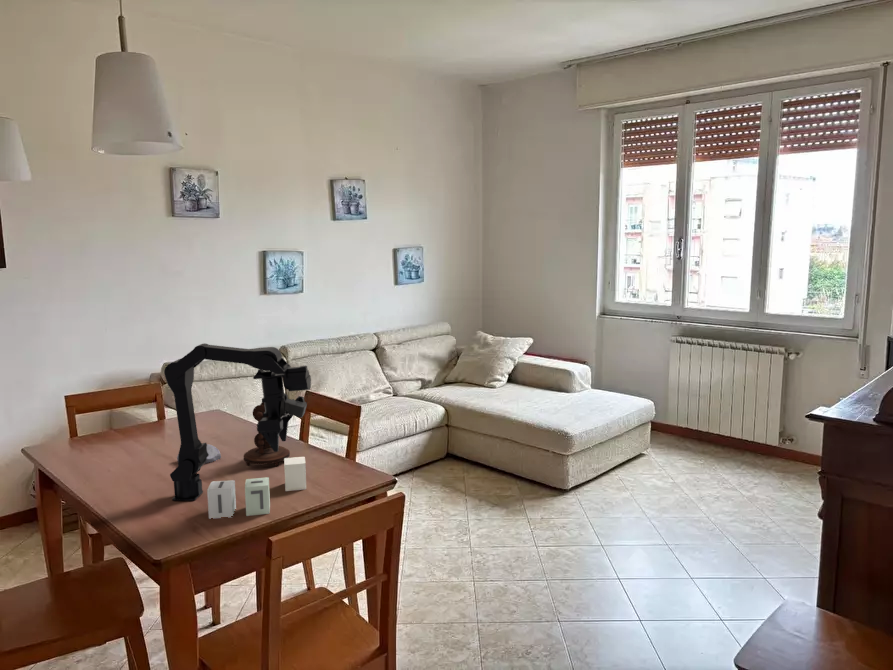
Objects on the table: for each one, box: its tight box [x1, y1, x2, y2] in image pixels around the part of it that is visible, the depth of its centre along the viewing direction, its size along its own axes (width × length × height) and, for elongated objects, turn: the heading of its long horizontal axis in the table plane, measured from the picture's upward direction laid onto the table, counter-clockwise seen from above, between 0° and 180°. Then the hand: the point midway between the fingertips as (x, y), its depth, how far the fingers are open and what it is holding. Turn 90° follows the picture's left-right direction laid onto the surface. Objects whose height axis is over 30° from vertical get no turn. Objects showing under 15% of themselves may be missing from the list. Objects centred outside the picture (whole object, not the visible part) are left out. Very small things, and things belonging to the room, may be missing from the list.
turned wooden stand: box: [243, 402, 291, 467], centre depth 212 cm, size 15×15×20 cm
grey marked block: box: [206, 479, 237, 520], centre depth 172 cm, size 6×6×8 cm
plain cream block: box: [283, 456, 307, 492], centre depth 191 cm, size 6×6×8 cm
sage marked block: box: [244, 476, 271, 517], centre depth 174 cm, size 6×6×8 cm
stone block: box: [176, 443, 222, 464], centre depth 214 cm, size 12×5×10 cm
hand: (280, 446), depth 182 cm, fingers open, 9 cm apart
